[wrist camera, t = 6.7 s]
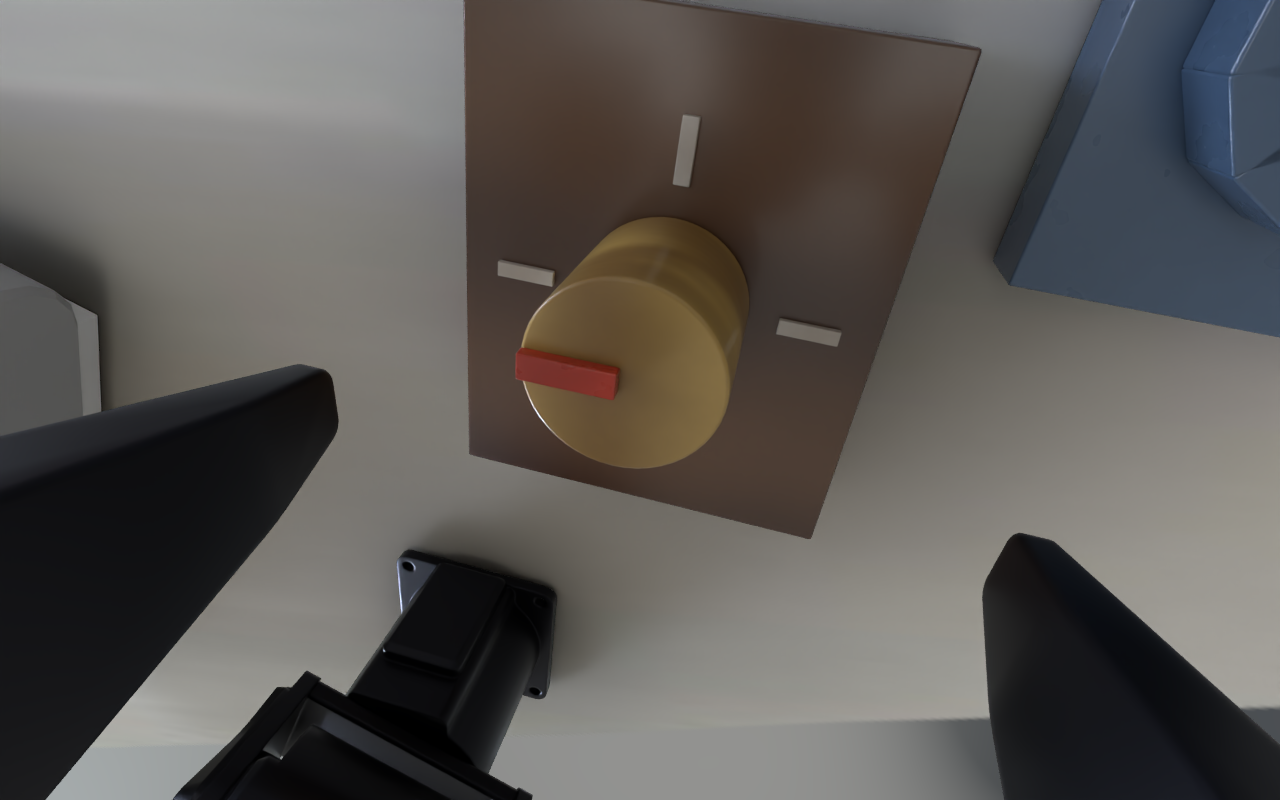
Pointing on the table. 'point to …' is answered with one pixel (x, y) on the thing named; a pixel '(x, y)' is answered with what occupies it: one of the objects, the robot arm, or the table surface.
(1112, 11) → the button box
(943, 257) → the table surface
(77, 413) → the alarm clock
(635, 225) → the dial
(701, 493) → the dial panel
